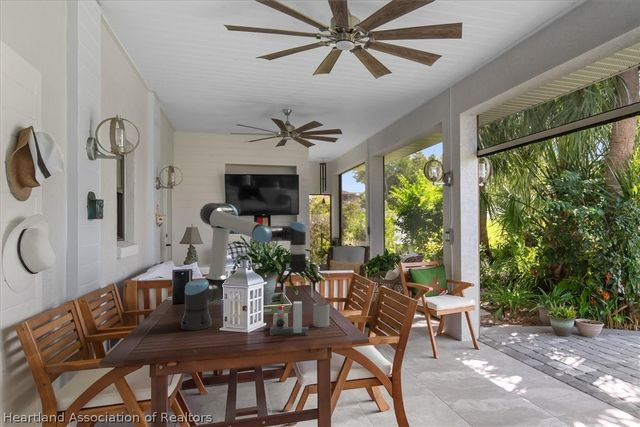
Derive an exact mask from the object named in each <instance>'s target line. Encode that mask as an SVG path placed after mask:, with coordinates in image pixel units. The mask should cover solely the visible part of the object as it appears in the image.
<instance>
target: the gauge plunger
mask: <svg viewBox="0 0 640 427" xmlns="http://www.w3.org/2000/svg"><path fill="white" fill-rule="evenodd" d="M276 309H277V313H278V316H283V313H284V309H285V305H277V306H276Z"/></svg>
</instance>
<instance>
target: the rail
mask: <svg viewBox="0 0 640 427" xmlns="http://www.w3.org/2000/svg"><path fill="white" fill-rule="evenodd" d="M274 335H275V336H276V335H279V336H280V335H282V336H283V335H285V336H286V335H288V336H289V335H292V336H293V335H295V336H296V335H301V336H302V335H305V336H309V326H308V325H307V326H302V333H293V326H288V327H273V326H270V329H269V336H274Z"/></svg>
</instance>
